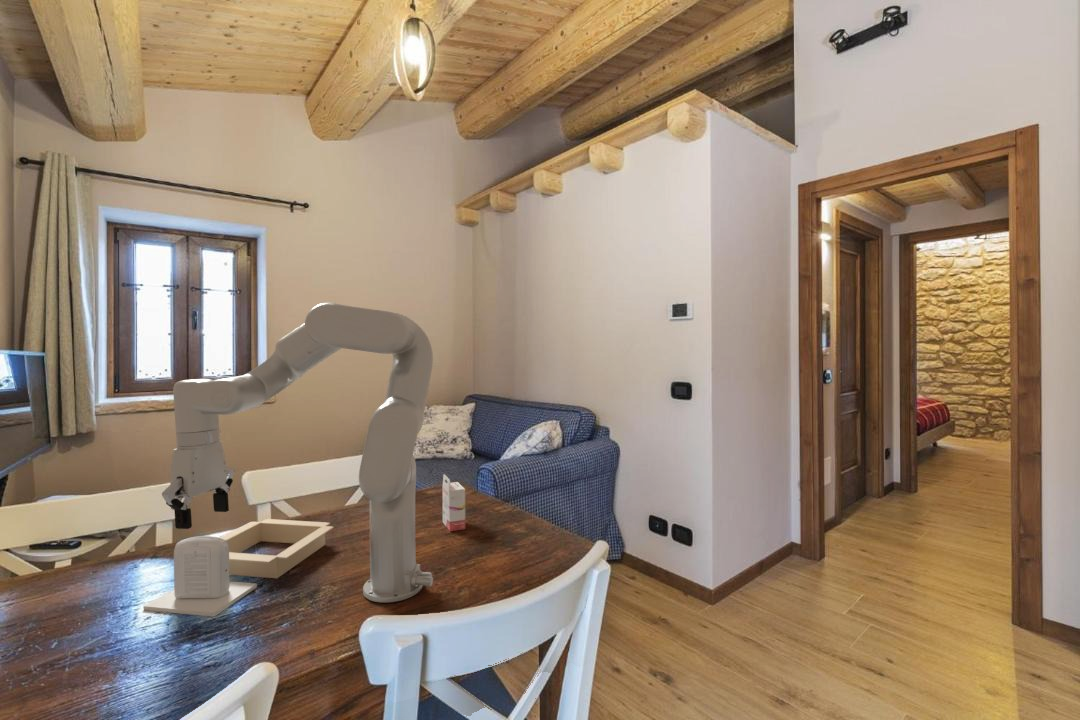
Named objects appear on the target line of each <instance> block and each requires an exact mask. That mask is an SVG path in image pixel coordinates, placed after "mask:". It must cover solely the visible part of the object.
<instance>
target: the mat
mask: <svg viewBox="0 0 1080 720" xmlns="http://www.w3.org/2000/svg"><path fill="white" fill-rule="evenodd" d="M257 588H258V583H254V582H252V583H251V582H241V581H240V582H239V581H230V586H229V592H228V593H227V594H226V595H225V596H223V597H217V598H176V597H175V595H174V588H173V589H171V590H170V591H167V592H166V593H164V594H163V595H161V596H159V597H157V598H155V599H154V600H152V601H150V602H149V603H147V604H144V605H143V611H148V610H149V611H150V612H160V613H168V614H169V613H171V614H180V615H181V614H182V615H193V616H202V617H212V618H214V617H216V616H217V615H219V614H220V613H222V612H224V610H226V609H228V608H229V607H230V606H232V605H234V604H235V603H236V602H238V601H239V600H241V599H242V598H243V597H245V596H246V595H248V594H249V593H251V592H252V591H254V590H255V589H257Z"/></svg>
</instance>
